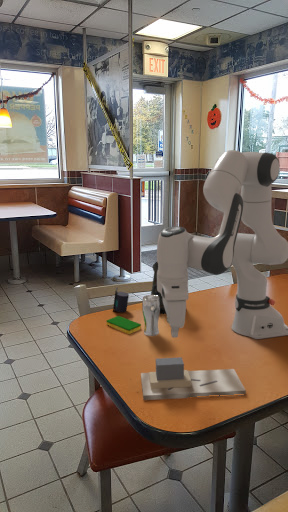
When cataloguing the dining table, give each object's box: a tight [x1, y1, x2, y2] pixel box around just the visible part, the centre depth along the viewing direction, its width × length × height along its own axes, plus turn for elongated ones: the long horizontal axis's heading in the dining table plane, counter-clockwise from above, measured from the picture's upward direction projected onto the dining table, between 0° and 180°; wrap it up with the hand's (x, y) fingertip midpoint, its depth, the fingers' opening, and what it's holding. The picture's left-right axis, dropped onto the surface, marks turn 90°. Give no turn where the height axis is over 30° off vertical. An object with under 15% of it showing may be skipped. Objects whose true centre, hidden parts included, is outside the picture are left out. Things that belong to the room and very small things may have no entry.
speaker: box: [112, 286, 130, 314], centre depth 176 cm, size 8×6×10 cm
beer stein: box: [150, 261, 167, 315], centre depth 176 cm, size 16×19×25 cm
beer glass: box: [141, 294, 161, 337], centre depth 152 cm, size 7×7×15 cm
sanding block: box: [148, 356, 191, 389], centre depth 116 cm, size 12×6×7 cm, turn 94°
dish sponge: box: [106, 315, 142, 335], centre depth 160 cm, size 7×14×2 cm, turn 47°
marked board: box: [140, 368, 247, 401], centre depth 117 cm, size 30×12×2 cm, turn 94°
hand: (172, 329), depth 113 cm, fingers open, 8 cm apart
